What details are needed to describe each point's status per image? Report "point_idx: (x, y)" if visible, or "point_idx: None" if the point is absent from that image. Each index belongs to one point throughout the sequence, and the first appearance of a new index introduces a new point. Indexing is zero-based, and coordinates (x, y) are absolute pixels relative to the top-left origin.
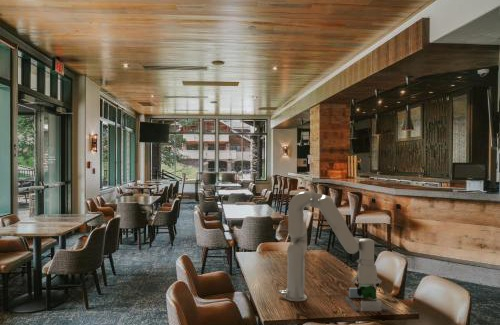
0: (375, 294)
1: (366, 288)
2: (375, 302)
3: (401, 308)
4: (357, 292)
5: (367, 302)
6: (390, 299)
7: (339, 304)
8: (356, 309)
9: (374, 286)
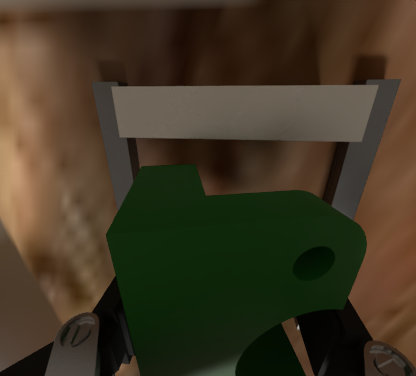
0: (142, 177)
1: (256, 321)
2: (187, 87)
3: (4, 155)
4: None
5: (292, 86)
6: (60, 290)
7: (412, 244)
8: (391, 80)
9: (87, 356)
